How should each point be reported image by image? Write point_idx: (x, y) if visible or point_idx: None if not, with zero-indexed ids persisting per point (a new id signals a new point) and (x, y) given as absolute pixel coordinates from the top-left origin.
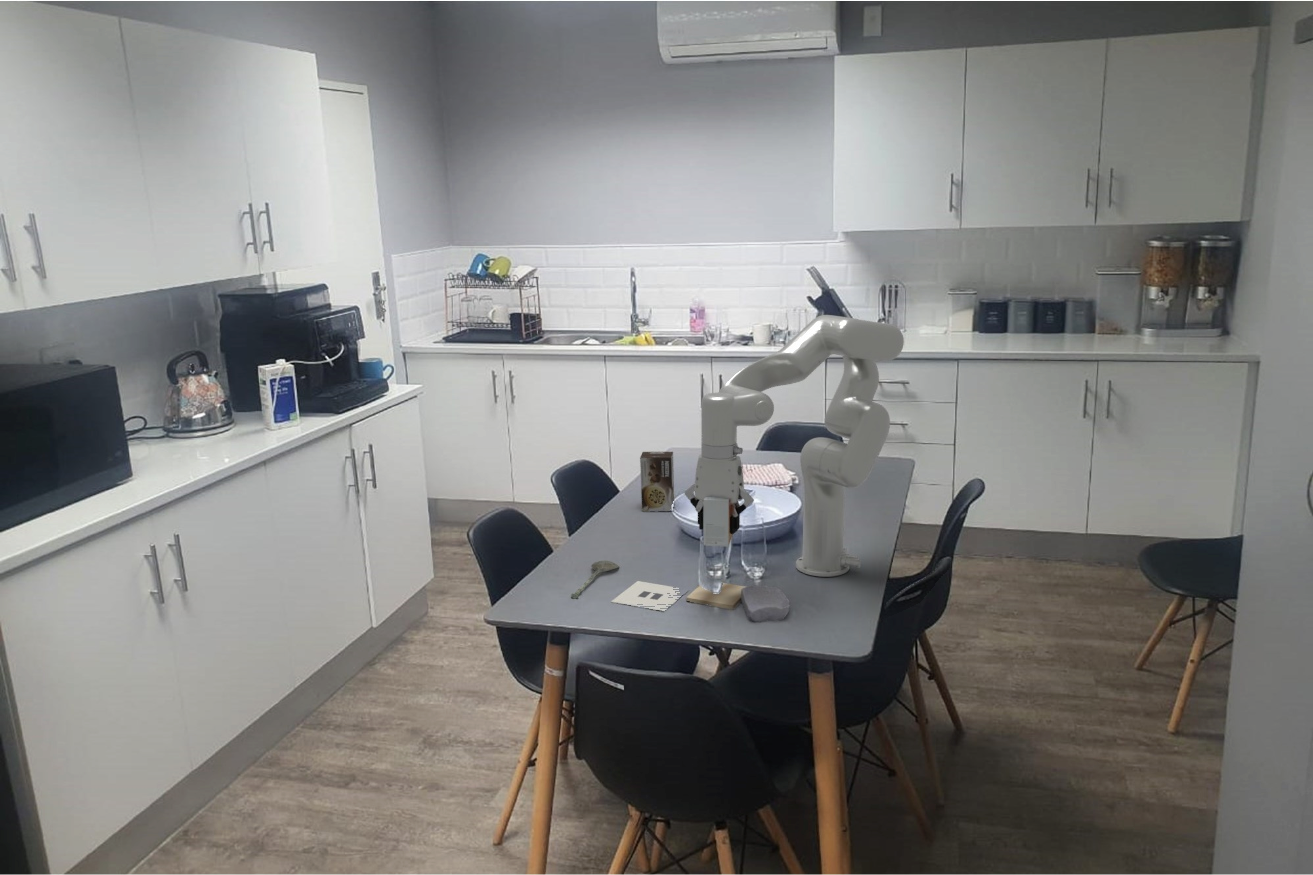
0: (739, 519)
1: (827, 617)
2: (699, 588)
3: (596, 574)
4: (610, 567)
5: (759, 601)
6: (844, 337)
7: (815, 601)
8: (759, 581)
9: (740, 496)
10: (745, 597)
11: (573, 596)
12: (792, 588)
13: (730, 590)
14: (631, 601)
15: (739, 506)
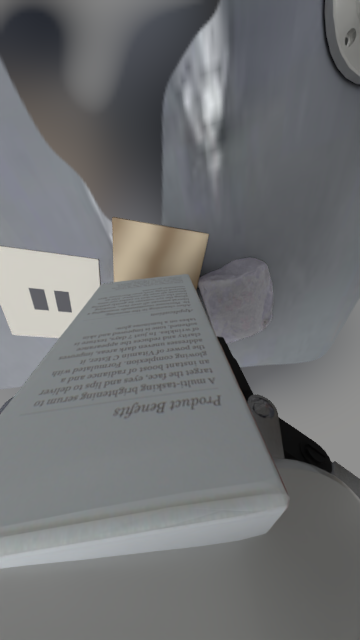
0: (246, 383)
1: (313, 298)
2: (119, 266)
3: None
4: None
5: (232, 326)
6: None
7: (312, 247)
8: (219, 165)
9: (332, 484)
10: (211, 319)
11: None
12: (284, 192)
13: (175, 260)
14: (40, 327)
15: (276, 440)
